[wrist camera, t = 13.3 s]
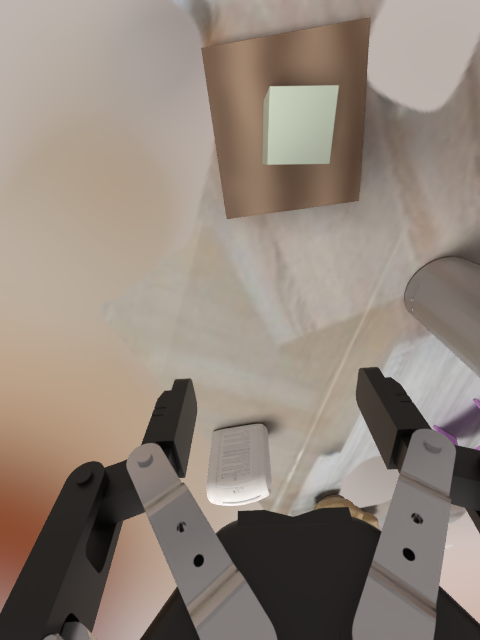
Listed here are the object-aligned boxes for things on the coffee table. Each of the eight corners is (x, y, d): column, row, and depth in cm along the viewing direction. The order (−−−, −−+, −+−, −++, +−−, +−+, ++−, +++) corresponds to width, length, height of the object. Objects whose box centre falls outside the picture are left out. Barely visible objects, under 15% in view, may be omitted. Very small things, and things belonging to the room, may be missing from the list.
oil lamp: (370, 515, 66) (379, 540, 62) (308, 515, 66) (312, 541, 62) (380, 487, 61) (391, 513, 57) (312, 488, 61) (317, 513, 57)
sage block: (318, 100, 26) (338, 85, 21) (312, 163, 29) (329, 163, 23) (263, 100, 26) (269, 86, 21) (262, 163, 29) (267, 164, 23)
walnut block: (353, 35, 27) (370, 17, 24) (346, 196, 34) (358, 200, 30) (206, 61, 28) (201, 48, 25) (228, 212, 35) (226, 219, 31)
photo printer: (215, 444, 54) (209, 515, 44) (209, 429, 52) (200, 499, 42) (269, 435, 53) (276, 506, 42) (264, 419, 51) (270, 489, 40)
